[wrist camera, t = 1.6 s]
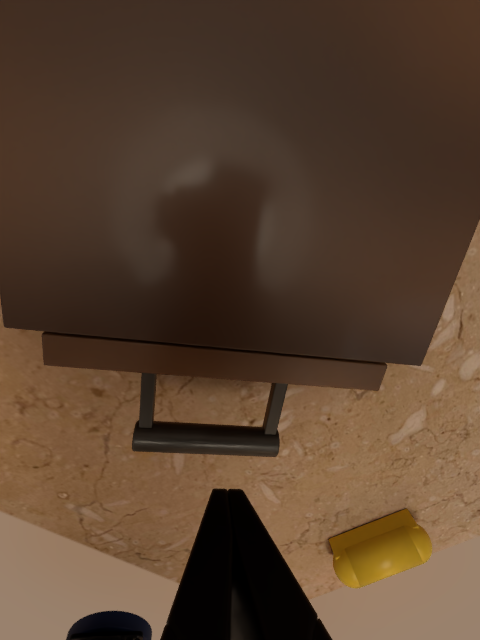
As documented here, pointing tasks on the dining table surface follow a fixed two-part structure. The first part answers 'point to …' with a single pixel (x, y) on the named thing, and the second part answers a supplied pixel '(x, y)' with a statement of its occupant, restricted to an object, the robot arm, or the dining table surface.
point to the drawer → (207, 364)
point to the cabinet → (239, 170)
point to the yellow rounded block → (380, 549)
